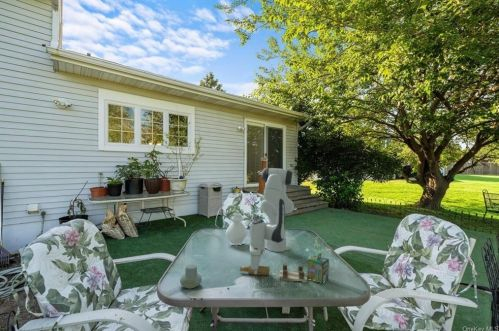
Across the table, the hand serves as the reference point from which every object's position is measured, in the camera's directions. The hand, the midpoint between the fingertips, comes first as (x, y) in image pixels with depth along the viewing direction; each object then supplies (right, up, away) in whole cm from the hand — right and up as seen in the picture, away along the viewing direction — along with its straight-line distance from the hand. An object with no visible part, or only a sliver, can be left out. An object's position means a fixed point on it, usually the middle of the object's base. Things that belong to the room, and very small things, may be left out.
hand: (256, 271), depth 146 cm
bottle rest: (+21, -2, -3) cm, 21 cm away
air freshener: (-35, -1, -16) cm, 38 cm away
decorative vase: (-15, -3, +60) cm, 61 cm away
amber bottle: (-1, -1, +2) cm, 2 cm away
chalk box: (+35, -3, -5) cm, 35 cm away
